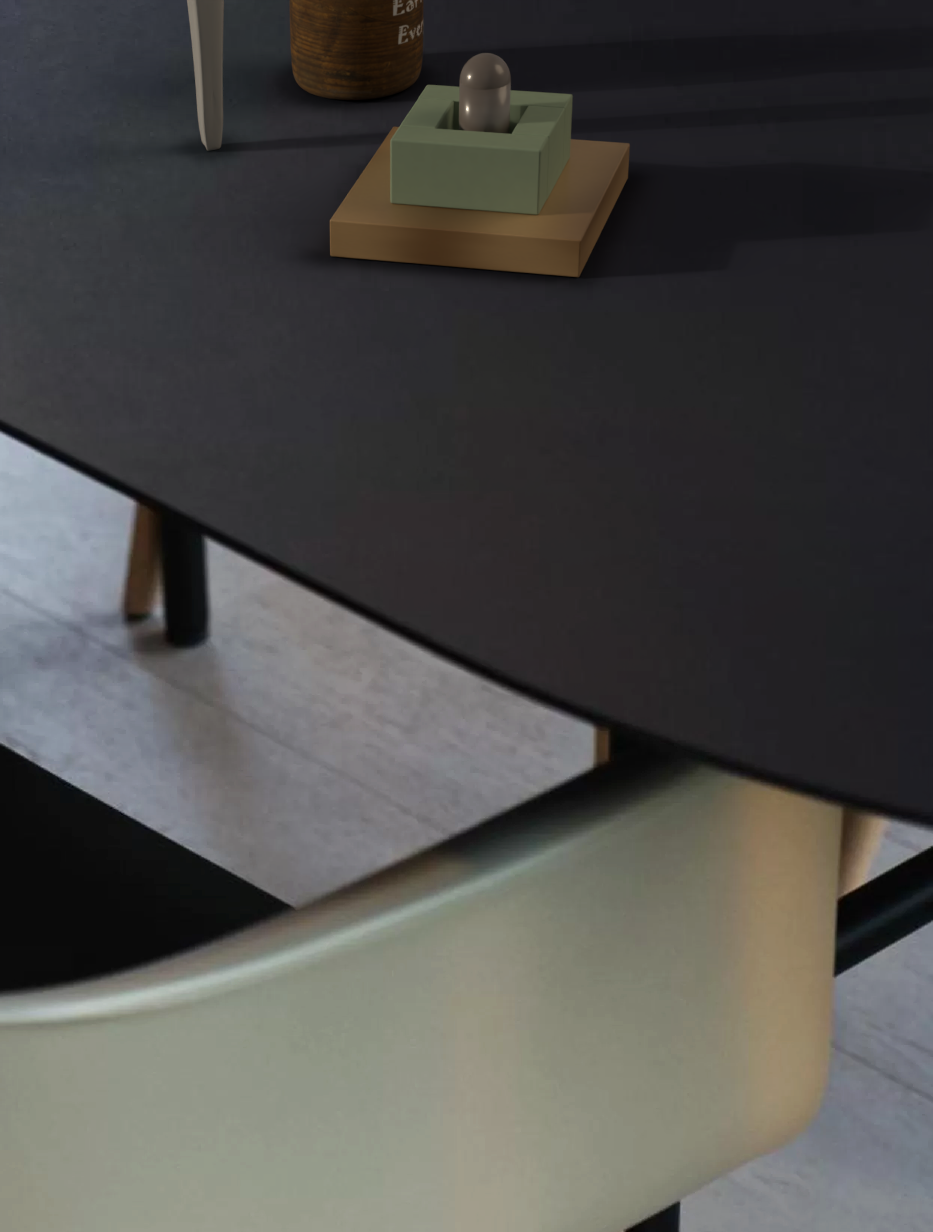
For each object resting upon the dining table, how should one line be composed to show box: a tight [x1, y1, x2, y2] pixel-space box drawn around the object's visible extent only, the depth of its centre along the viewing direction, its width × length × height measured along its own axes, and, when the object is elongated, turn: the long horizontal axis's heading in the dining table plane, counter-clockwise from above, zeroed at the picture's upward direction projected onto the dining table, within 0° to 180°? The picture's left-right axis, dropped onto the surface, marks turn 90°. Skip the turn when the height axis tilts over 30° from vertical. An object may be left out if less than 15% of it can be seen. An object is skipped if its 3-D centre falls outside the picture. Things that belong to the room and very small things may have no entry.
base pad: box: [329, 52, 631, 278], centre depth 107 cm, size 10×10×6 cm
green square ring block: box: [390, 84, 574, 215], centre depth 107 cm, size 6×6×3 cm
